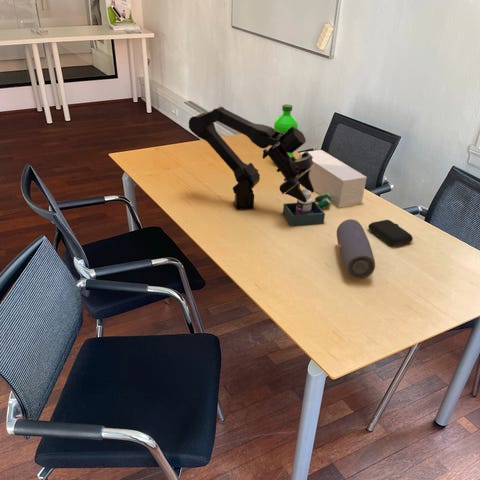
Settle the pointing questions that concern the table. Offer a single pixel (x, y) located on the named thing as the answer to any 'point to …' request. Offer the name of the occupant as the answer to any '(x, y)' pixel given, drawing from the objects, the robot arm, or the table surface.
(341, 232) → the bluetooth speaker
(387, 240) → the carrying case
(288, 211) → the tray
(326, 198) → the gaming controller
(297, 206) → the pill bottle
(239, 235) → the table surface
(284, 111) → the plastic bottle
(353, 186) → the long white box
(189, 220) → the table surface
